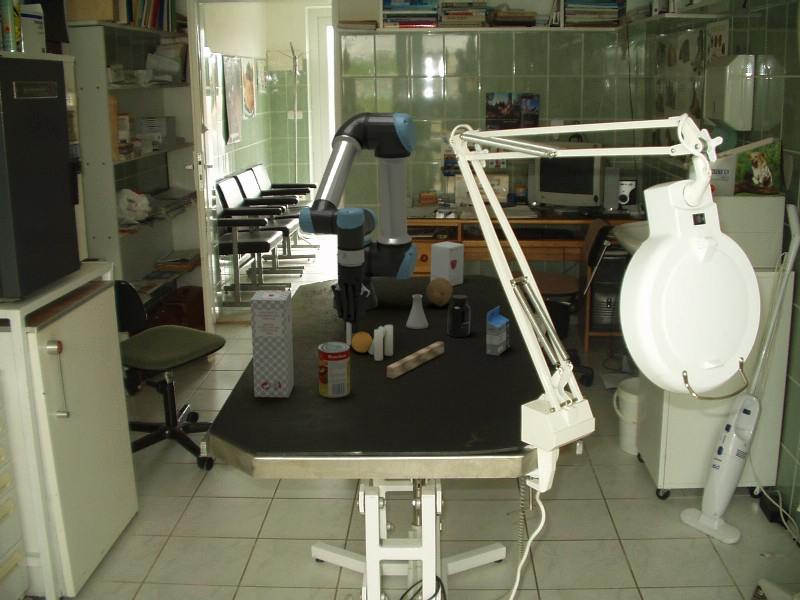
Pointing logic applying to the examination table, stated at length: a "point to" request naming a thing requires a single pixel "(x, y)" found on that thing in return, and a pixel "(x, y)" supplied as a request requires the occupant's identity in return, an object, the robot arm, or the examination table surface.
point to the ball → (361, 342)
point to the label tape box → (497, 333)
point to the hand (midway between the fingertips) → (351, 343)
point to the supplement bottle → (459, 317)
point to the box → (272, 343)
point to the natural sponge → (439, 291)
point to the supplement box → (447, 262)
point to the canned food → (334, 369)
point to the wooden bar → (415, 359)
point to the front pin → (371, 349)
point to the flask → (417, 314)
